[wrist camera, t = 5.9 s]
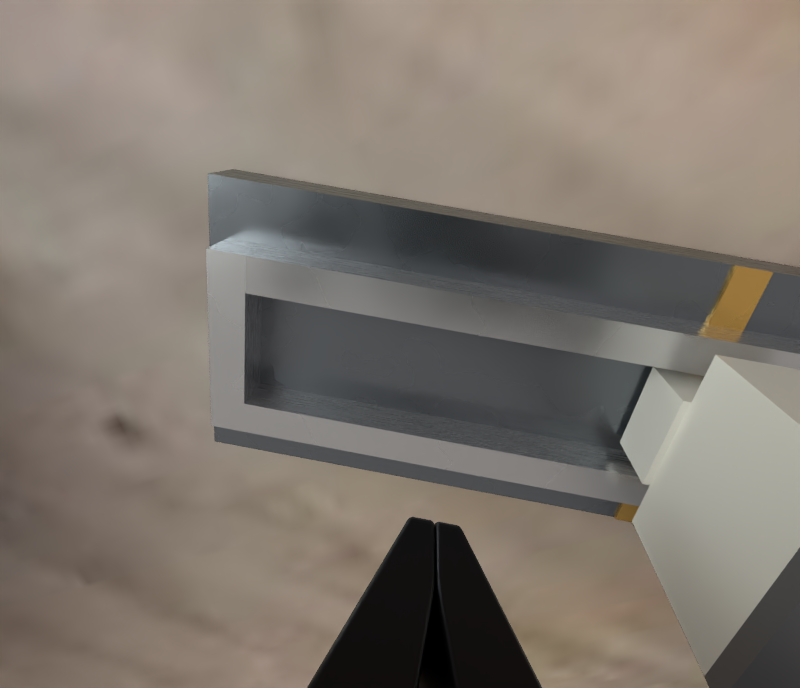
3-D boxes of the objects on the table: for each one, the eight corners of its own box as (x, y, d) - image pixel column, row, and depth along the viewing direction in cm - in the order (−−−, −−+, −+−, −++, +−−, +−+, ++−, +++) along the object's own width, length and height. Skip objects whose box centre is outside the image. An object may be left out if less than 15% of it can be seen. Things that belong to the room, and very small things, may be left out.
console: (938, 291, 13) (1054, 329, 10) (781, 518, 16) (839, 586, 14) (232, 169, 13) (183, 177, 11) (233, 416, 17) (197, 464, 14)
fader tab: (779, 342, 12) (1076, 531, 6) (695, 492, 14) (858, 732, 9) (672, 323, 12) (870, 493, 6) (604, 475, 14) (707, 703, 9)
